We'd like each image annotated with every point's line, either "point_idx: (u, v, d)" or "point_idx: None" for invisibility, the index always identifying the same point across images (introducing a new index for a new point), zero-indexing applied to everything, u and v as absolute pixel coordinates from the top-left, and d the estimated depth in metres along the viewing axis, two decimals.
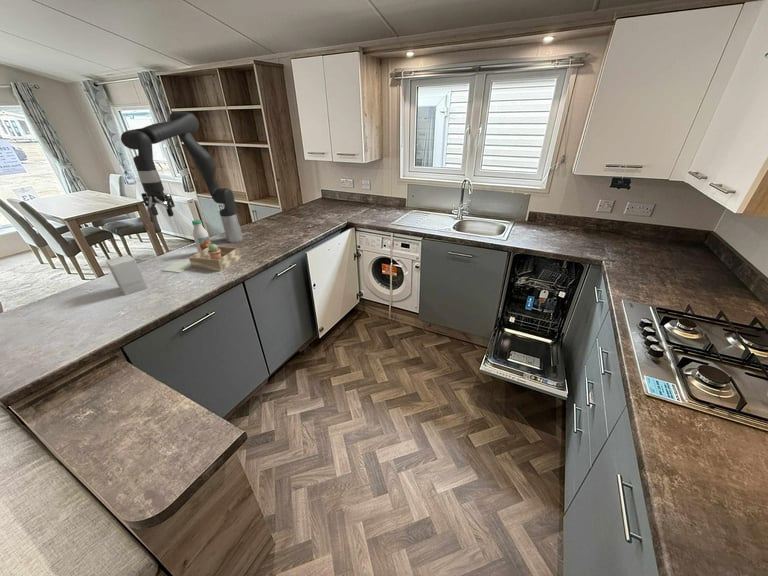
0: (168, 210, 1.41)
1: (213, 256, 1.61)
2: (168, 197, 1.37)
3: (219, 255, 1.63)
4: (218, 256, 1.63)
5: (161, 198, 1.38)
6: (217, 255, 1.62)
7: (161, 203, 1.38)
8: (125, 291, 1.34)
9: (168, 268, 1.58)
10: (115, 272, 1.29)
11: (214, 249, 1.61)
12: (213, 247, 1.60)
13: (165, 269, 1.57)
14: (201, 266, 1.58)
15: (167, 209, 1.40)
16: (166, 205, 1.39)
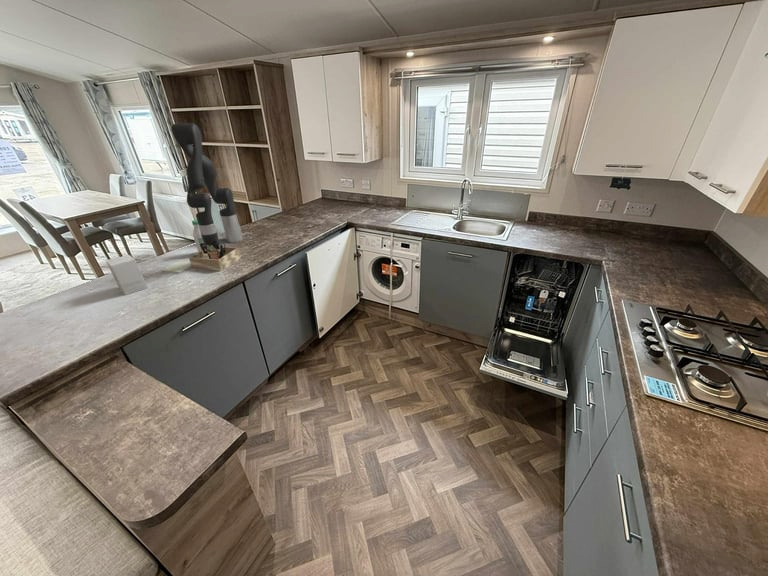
0: (220, 257, 1.63)
1: (213, 256, 1.61)
2: (223, 247, 1.60)
3: None
4: (218, 256, 1.63)
5: (216, 247, 1.60)
6: (217, 255, 1.62)
7: (215, 251, 1.61)
8: (125, 291, 1.34)
9: (168, 268, 1.58)
10: (115, 272, 1.29)
11: None
12: None
13: (165, 269, 1.57)
14: (201, 266, 1.58)
15: (219, 256, 1.63)
16: (219, 253, 1.62)
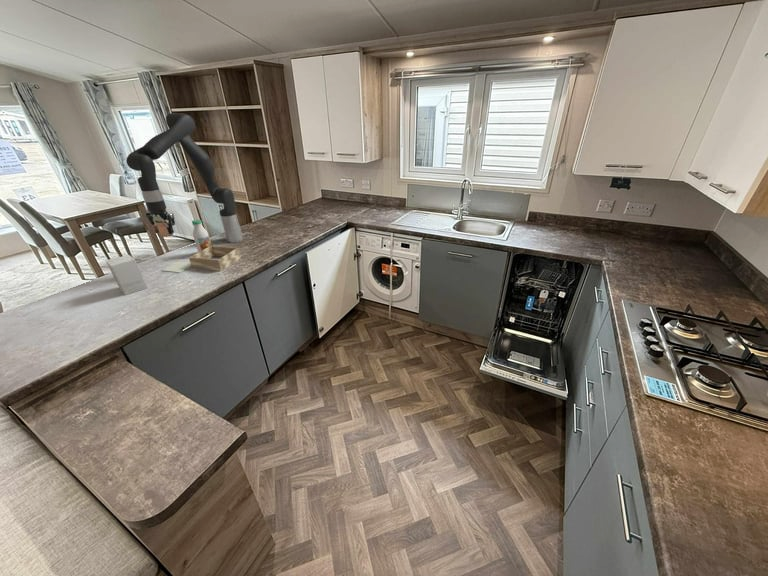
0: (169, 228, 1.48)
1: (160, 227, 1.46)
2: (171, 217, 1.45)
3: None
4: None
5: (164, 217, 1.45)
6: (165, 226, 1.47)
7: (163, 221, 1.45)
8: (125, 291, 1.34)
9: (168, 268, 1.58)
10: (115, 272, 1.29)
11: None
12: None
13: (165, 269, 1.57)
14: (201, 266, 1.58)
15: (168, 227, 1.48)
16: (167, 224, 1.47)
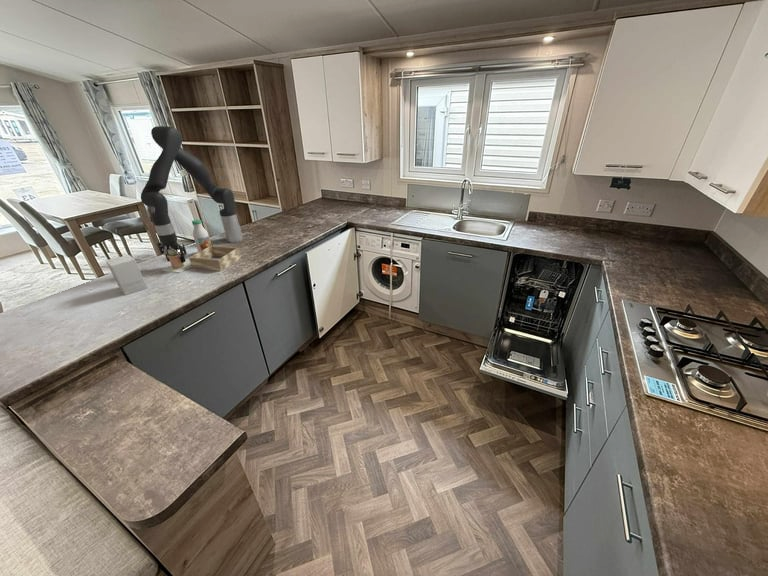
0: (181, 257, 1.56)
1: (172, 260, 1.55)
2: (181, 247, 1.53)
3: (179, 259, 1.57)
4: (178, 260, 1.57)
5: (175, 247, 1.53)
6: (177, 259, 1.56)
7: (175, 252, 1.53)
8: (125, 291, 1.34)
9: (168, 268, 1.58)
10: (115, 272, 1.29)
11: (173, 253, 1.54)
12: (172, 251, 1.54)
13: (165, 269, 1.57)
14: (201, 266, 1.58)
15: (180, 257, 1.55)
16: (179, 253, 1.54)
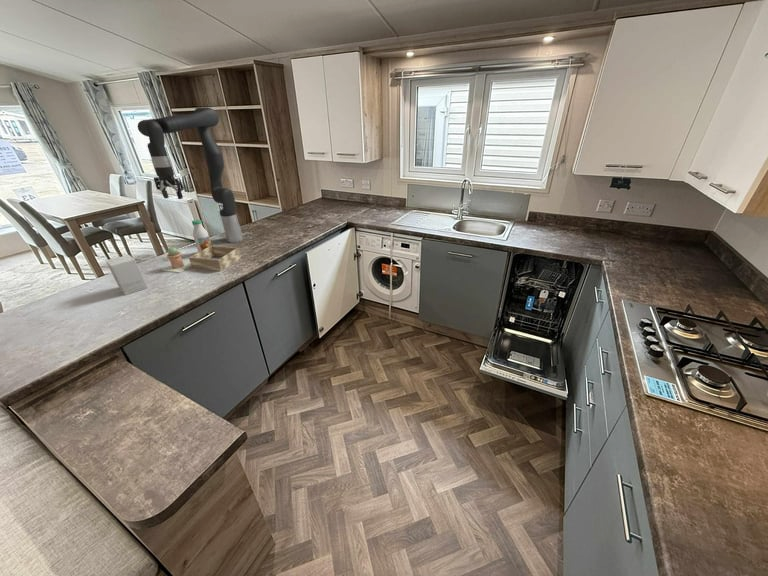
0: (178, 193, 1.54)
1: (172, 260, 1.55)
2: (178, 181, 1.51)
3: (179, 259, 1.57)
4: (178, 260, 1.57)
5: (172, 182, 1.52)
6: (177, 259, 1.56)
7: (172, 186, 1.52)
8: (125, 291, 1.34)
9: (168, 268, 1.58)
10: (115, 272, 1.29)
11: (173, 253, 1.54)
12: (172, 251, 1.54)
13: (165, 269, 1.57)
14: (201, 266, 1.58)
15: (177, 192, 1.54)
16: (176, 188, 1.53)
